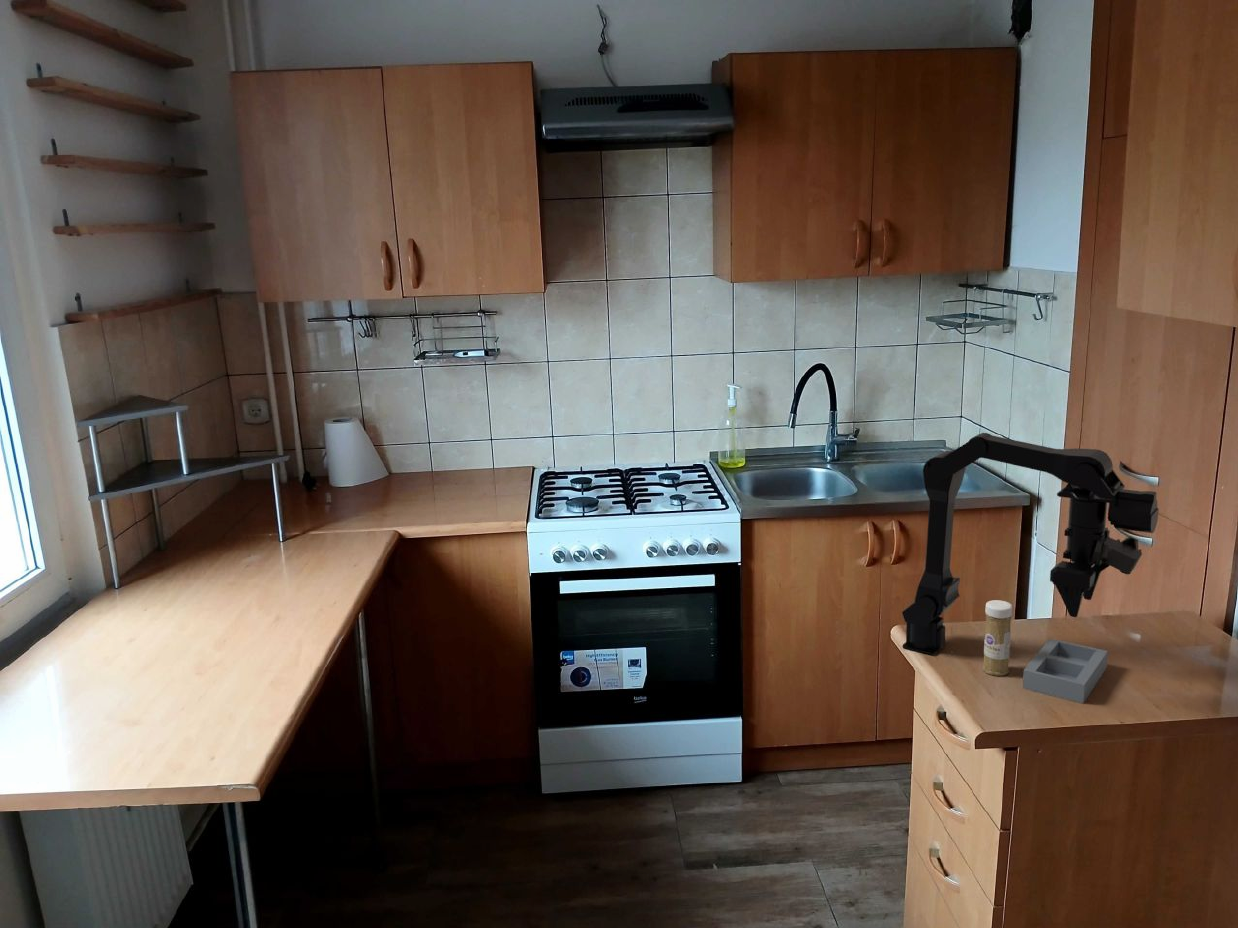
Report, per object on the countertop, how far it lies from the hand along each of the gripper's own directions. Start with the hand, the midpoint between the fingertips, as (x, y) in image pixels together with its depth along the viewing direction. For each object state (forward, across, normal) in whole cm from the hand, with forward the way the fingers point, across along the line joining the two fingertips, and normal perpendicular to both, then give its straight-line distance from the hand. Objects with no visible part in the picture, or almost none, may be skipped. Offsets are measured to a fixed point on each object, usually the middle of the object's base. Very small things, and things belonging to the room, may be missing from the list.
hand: (1080, 607), depth 162 cm
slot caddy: (+15, +1, +2) cm, 15 cm away
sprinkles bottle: (+15, -3, +13) cm, 20 cm away
